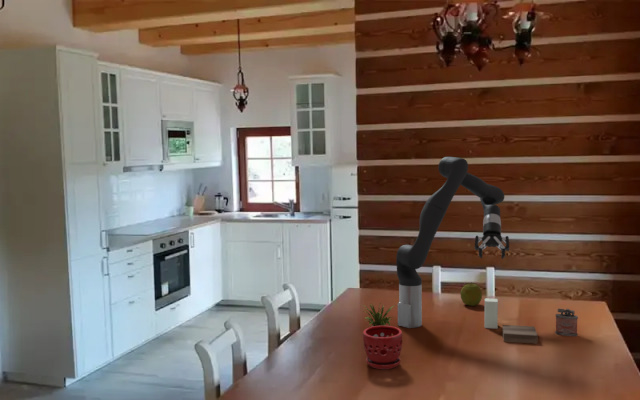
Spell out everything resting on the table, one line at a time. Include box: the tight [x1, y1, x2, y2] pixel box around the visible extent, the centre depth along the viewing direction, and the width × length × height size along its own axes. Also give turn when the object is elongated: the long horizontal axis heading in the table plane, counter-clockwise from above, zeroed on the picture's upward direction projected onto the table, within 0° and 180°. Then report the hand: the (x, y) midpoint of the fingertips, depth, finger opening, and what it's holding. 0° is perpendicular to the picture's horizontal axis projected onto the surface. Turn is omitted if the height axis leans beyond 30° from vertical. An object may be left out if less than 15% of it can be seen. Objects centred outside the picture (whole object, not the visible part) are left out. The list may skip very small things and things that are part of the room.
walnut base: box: [501, 324, 538, 344], centre depth 234 cm, size 12×12×3 cm
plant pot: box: [362, 325, 403, 370], centre depth 206 cm, size 13×13×12 cm
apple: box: [460, 281, 483, 307], centre depth 284 cm, size 10×10×11 cm
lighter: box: [554, 308, 579, 337], centre depth 237 cm, size 8×3×10 cm, turn 65°
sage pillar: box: [484, 297, 499, 330], centre depth 249 cm, size 5×5×11 cm
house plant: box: [360, 301, 396, 337], centre depth 228 cm, size 14×14×16 cm
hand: (491, 257), depth 258 cm, fingers open, 8 cm apart
